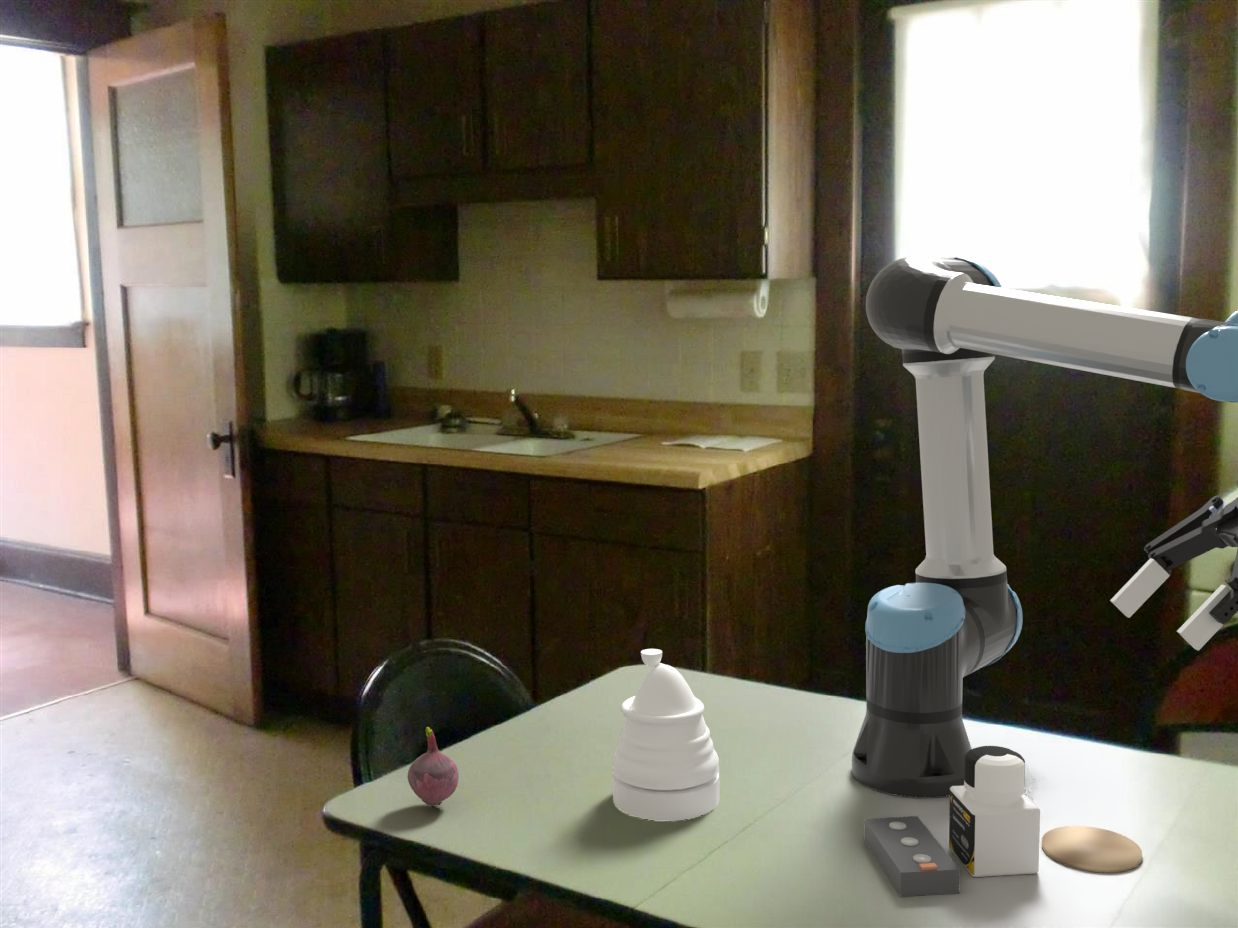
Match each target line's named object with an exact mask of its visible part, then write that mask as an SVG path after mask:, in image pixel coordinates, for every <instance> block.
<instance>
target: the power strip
mask: <svg viewBox="0 0 1238 928" xmlns="http://www.w3.org/2000/svg"><path fill="white" fill-rule="evenodd" d="M863 841H864V843H865V844H866V846H867V848H868V849H869V850H870V852H871V854H872V855H873V857H874V858H875V860H876V861H877V862H878V864H879V866H880V867H881V869H882V871H883V872H884V873H885V875H886V876H887V877H888V879H889V881H890V882H891V884H892V886H893V887H894V889H895V890H896V892H897V893H898V895H899V897H900V898H901V897H903V898H904V897H917V896H919V897H920V896H932V895H933V896H934V895H936V896H937V895H952V894H953V895H954V894H960V885H961V884H960V877H961V876H960V875H961V873H960V871H961V869H960V868H959V867H958V865H957V864H956V862H954V861H953V859H952V857H950V855H949V854H948V853H947V852H946V850H945V849H944V848H943V846H942V845H941V844H940V842H939V841H938V840H937V838H936V837H934V835H933V834H932V832H931V831H930V830H929V829H928V828H927V826H926V825H925V824H924V822H923V821H922V820H921V818H920V817H919V816H918V815H911V816H910V815H909V816H893V817H892V816H891V817H890V816H888V817H872V818H871V817H870V818H864V819H863Z"/></svg>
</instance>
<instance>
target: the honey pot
mask: <svg viewBox="0 0 1238 928" xmlns="http://www.w3.org/2000/svg"><path fill="white" fill-rule="evenodd" d="M640 656H641V660H642V662H643V664H644V665H645V666H647V668H653V669H652V670H650V672H648V674H646V677H645V678H644V679H643V681H642V682H641V684H640V686H639V688H638V689H637V692H636V694H635V695H633V696H631V697H629V698H627V699H625V700H624V701H623V702H622V703H621V706H620V712H621V714H622V715H623V716H624V717H625V718H626V719H625V723H624V725H623V727H622V728H621V729H620V734H619V736H620V738H619V739H618V741H617V747H616V748H617V749H616V750H615V752H614V754H613V757H612V762H611V763H612V801H613V800H614V802H615V805H616V806H617V807H618V808H620V809H621V810H622V811H624V812H627V813H628V814H630V815H634V816H638V817H641V818H647V819H652V820H669V821H671V820H672V822H676V821H675V820H683V821H685V820H684V819H688V820H691V819H690V818H693V817H698V816H700V815H703V814H705V815H707V814H706V813H708V812H709V813H711V812H712V811H713V810H712V809H714V808H715V807H716V806H718V805H719V804H720V765H719V763H720V758H719V755H718V753H717V751H716V750H715V748H714V741H713V739H712V738H711V730H710V728H709V727H708V726H707V723H706V722H705V718H704V716H703V713H704V712H705V704H704V703H703V702H702V701H701V700H700V699H699V698H698V697H696V696H695V695H694V692H693V691H692V689H691V687H690V686H689V684H688V683H687V681H686V678H684V676H683V675H682V674H681V673H680V672H679V671H678V670H677V669H676V668H675V667H673V666H671V665H670V664H665V663H662V662H661V660H662V657H663V650H661V649H658V648H646V649H642V650H641V651H640ZM614 802H613V803H614ZM718 803H719V804H718ZM615 805H614V806H615ZM716 808H717V807H716ZM716 808H715V809H716ZM715 809H714V810H715ZM711 810H712V811H711ZM710 811H711V812H710ZM709 813H708V814H709ZM703 816H704V815H703ZM700 817H701V816H700ZM698 818H699V817H698ZM693 819H694V818H693Z"/></svg>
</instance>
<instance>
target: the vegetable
mask: <svg viewBox="0 0 1238 928" xmlns="http://www.w3.org/2000/svg"><path fill="white" fill-rule="evenodd" d="M424 735H425V736H426V741H427V750H426V752H425V753H423V754H421V755H420V756H418V757H417V758H416V759H415V760H414V761H413V762H412V764H410V766H409V768H408V770H407V771H408V772H407V781H408V784H409V786H410V788H411V790H412V791H413V792H414V794H415V795H416V796H417V797H418V798H420V800H421V802H423V803H425V805H427V806H429V807H432V806H434V807H435V806H436V807H437V806H441V805H442V804H443V801H445V800H447V799H449V798H450V797H451V796H452V795H453V794H454V793H455V791H456V790H457V787H458V783H459V769H458V766H457V764H456V762H454V760H453V759H451V757H449V756H447V755H446V754H444V753H442V752H441V750H439V749H438V744H437V740H436V736H435V734H434V732H433V729H432V728H430V727H429V726H426V727H425V734H424Z"/></svg>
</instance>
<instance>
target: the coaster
mask: <svg viewBox="0 0 1238 928" xmlns="http://www.w3.org/2000/svg"><path fill="white" fill-rule="evenodd" d="M1041 848H1042V850H1043V852H1044V853H1045V854H1046V855H1047V856H1048V857H1049V858H1051V859H1052V860H1055V861H1056V862H1058V863H1060V864H1063V865H1065V866H1068V867H1071V868H1075V869H1077V870H1078V869H1079V870H1084V871H1087V872H1094V873H1119V872H1125V871H1130V870H1132V869H1135V868H1137V867H1139V865H1140V864H1141V862H1142V860H1143V859H1142V858H1143V851H1142V848H1141V847H1140V845H1139V844H1138V843H1137V842H1135V840H1133V839H1131V838H1129V837H1128V836H1126V835H1123V834H1122V833H1118V832H1115V831H1112V830H1108V829H1105V828H1101V827H1096V826H1095V827H1093V826H1087V825H1082V826H1081V825H1070V826H1069V825H1068V826H1060V827H1056V828H1053V829H1050V830H1048V831H1046V832H1045V833H1044V834H1043V835H1042V837H1041Z"/></svg>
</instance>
